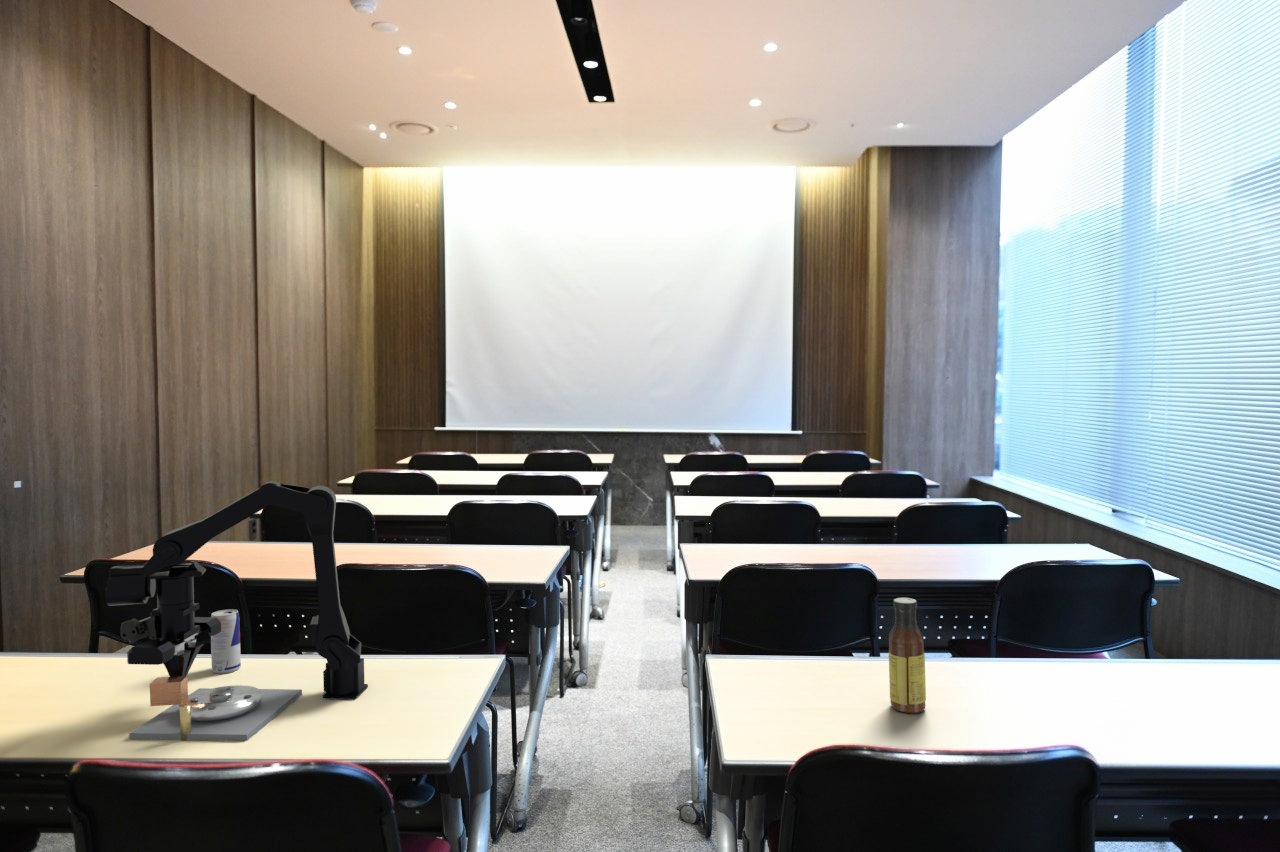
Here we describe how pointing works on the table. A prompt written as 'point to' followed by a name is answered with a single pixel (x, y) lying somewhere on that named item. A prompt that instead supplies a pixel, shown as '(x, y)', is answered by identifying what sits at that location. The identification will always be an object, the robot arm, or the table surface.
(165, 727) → the base board
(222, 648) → the energy drink
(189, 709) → the dowel
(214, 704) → the flange plate
